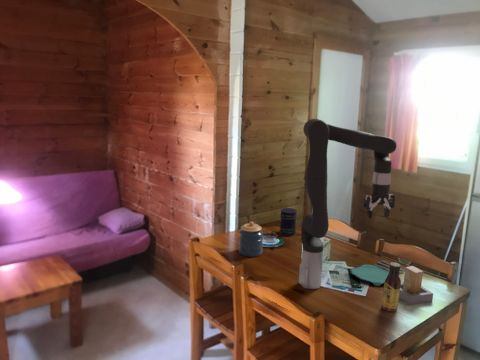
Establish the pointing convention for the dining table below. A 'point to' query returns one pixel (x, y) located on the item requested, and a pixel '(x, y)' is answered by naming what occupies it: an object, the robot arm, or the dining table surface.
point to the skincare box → (412, 280)
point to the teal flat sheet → (372, 273)
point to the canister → (250, 240)
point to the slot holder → (415, 296)
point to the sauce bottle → (392, 288)
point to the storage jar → (288, 222)
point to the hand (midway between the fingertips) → (377, 217)
